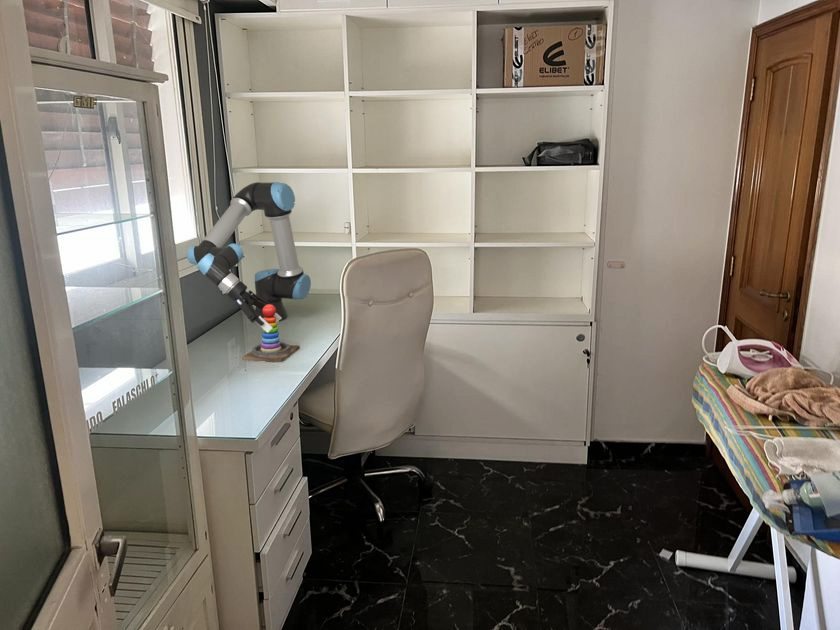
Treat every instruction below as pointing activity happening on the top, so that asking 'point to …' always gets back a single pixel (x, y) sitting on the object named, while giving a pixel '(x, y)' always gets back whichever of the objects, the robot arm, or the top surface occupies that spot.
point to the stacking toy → (272, 337)
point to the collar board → (271, 359)
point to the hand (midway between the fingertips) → (275, 325)
